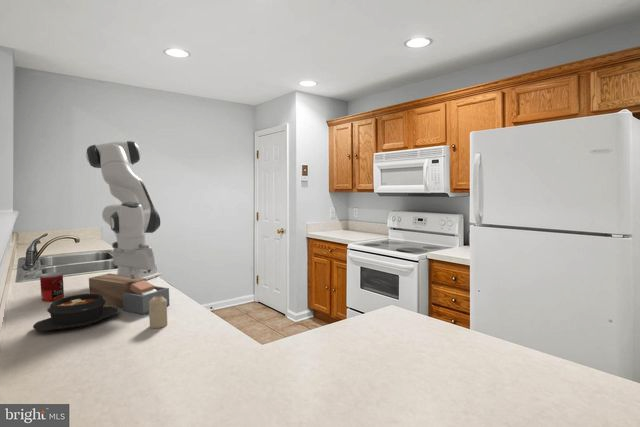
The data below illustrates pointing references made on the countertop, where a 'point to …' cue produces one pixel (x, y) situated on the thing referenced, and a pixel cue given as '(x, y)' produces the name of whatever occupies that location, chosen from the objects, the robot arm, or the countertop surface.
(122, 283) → the brown wooden block
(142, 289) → the tile terracotta
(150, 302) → the candle
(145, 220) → the robot arm
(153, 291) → the tile sage
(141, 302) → the box
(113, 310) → the casserole
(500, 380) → the countertop surface
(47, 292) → the canned food
